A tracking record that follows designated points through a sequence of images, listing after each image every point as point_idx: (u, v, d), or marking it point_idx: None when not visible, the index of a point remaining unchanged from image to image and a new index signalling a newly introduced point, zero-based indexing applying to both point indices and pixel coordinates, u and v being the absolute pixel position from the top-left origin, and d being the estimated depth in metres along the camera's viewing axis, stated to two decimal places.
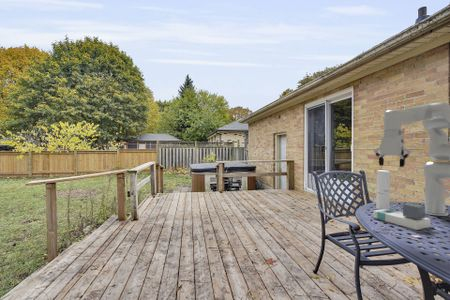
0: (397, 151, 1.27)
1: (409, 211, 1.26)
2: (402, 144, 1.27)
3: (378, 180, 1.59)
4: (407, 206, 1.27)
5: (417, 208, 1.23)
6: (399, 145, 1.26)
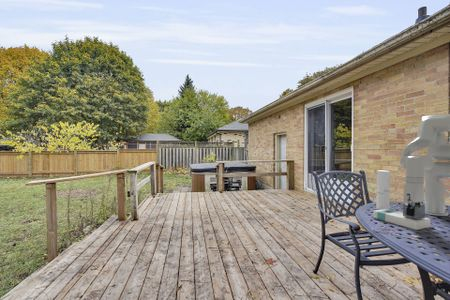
0: (422, 198, 1.27)
1: None
2: None
3: (378, 180, 1.59)
4: None
5: (417, 208, 1.23)
6: (423, 192, 1.27)
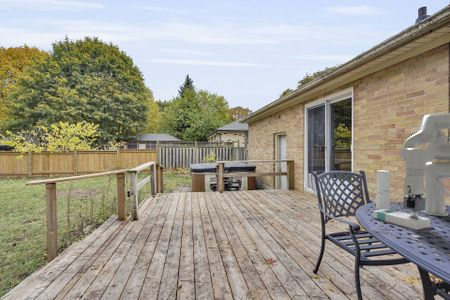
0: (423, 190, 1.27)
1: None
2: None
3: (378, 180, 1.59)
4: None
5: (417, 200, 1.23)
6: (423, 184, 1.27)
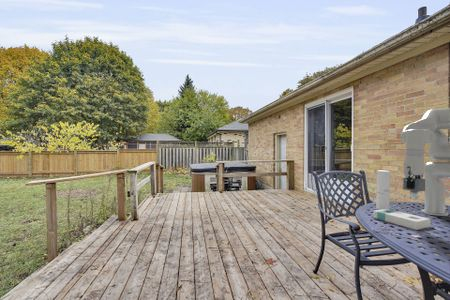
0: (423, 171, 1.27)
1: None
2: None
3: (378, 180, 1.59)
4: None
5: (417, 180, 1.23)
6: (423, 165, 1.27)
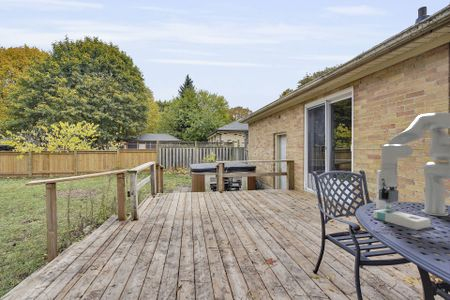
0: (396, 183, 1.39)
1: None
2: None
3: (378, 180, 1.59)
4: None
5: (390, 192, 1.35)
6: (397, 177, 1.39)
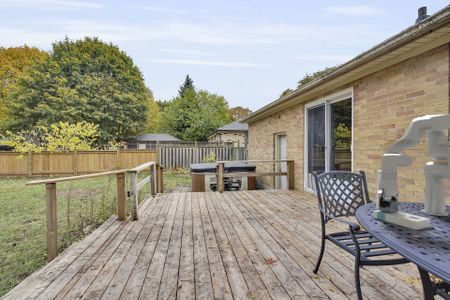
0: (396, 192, 1.39)
1: None
2: None
3: (378, 180, 1.59)
4: None
5: (390, 202, 1.35)
6: None
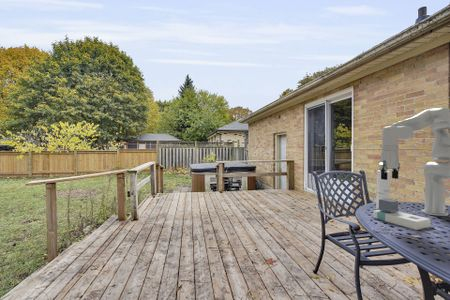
0: (397, 165, 1.38)
1: (384, 205, 1.38)
2: None
3: (378, 180, 1.59)
4: (382, 201, 1.39)
5: (390, 202, 1.35)
6: (398, 159, 1.39)
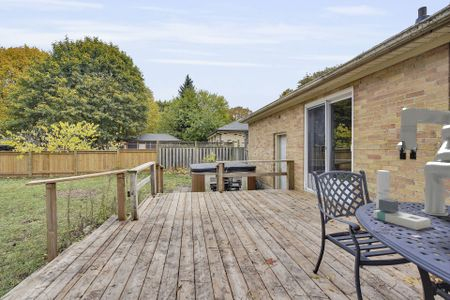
0: (416, 145, 1.41)
1: (384, 205, 1.38)
2: None
3: (378, 180, 1.59)
4: (382, 201, 1.39)
5: (390, 202, 1.35)
6: (416, 140, 1.42)
